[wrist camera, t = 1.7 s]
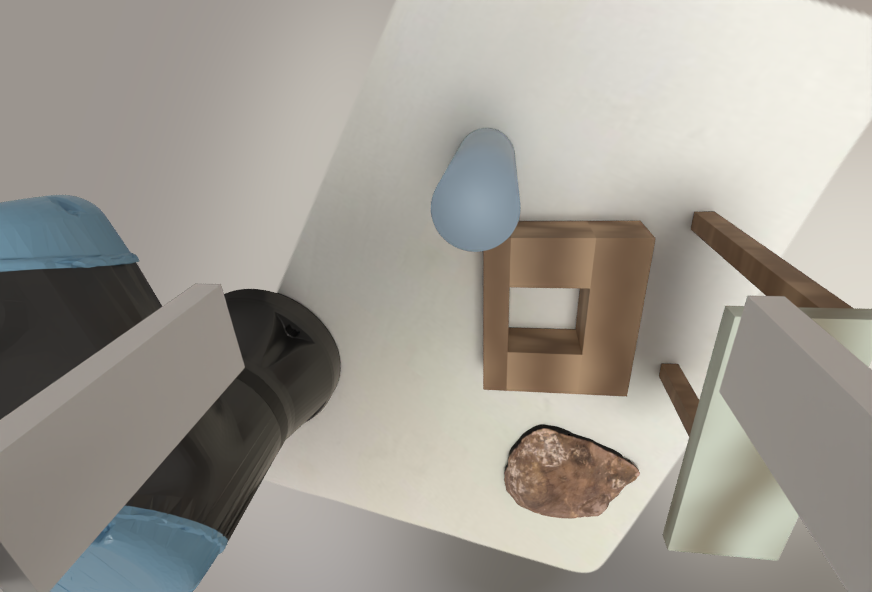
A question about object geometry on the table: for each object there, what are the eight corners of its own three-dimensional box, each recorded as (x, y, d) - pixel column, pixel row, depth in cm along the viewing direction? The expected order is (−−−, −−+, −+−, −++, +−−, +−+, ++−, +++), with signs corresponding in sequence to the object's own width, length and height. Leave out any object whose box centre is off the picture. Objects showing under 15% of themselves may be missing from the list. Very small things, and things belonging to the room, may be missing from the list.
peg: (457, 187, 36) (433, 251, 24) (456, 128, 34) (428, 165, 22) (513, 186, 35) (518, 251, 23) (515, 127, 33) (522, 163, 21)
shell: (580, 523, 52) (585, 553, 49) (483, 478, 51) (482, 506, 48) (645, 463, 47) (655, 492, 43) (538, 411, 45) (541, 437, 42)
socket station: (485, 371, 44) (474, 532, 29) (485, 209, 36) (472, 310, 21) (678, 379, 41) (777, 560, 26) (719, 207, 34) (890, 320, 19)
